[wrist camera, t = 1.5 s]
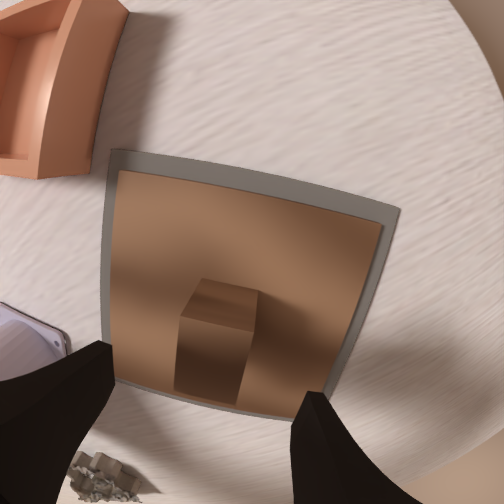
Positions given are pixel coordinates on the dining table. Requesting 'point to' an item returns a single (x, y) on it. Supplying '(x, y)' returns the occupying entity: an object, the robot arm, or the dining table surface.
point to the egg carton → (101, 479)
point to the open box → (54, 83)
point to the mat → (257, 184)
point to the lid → (231, 291)
